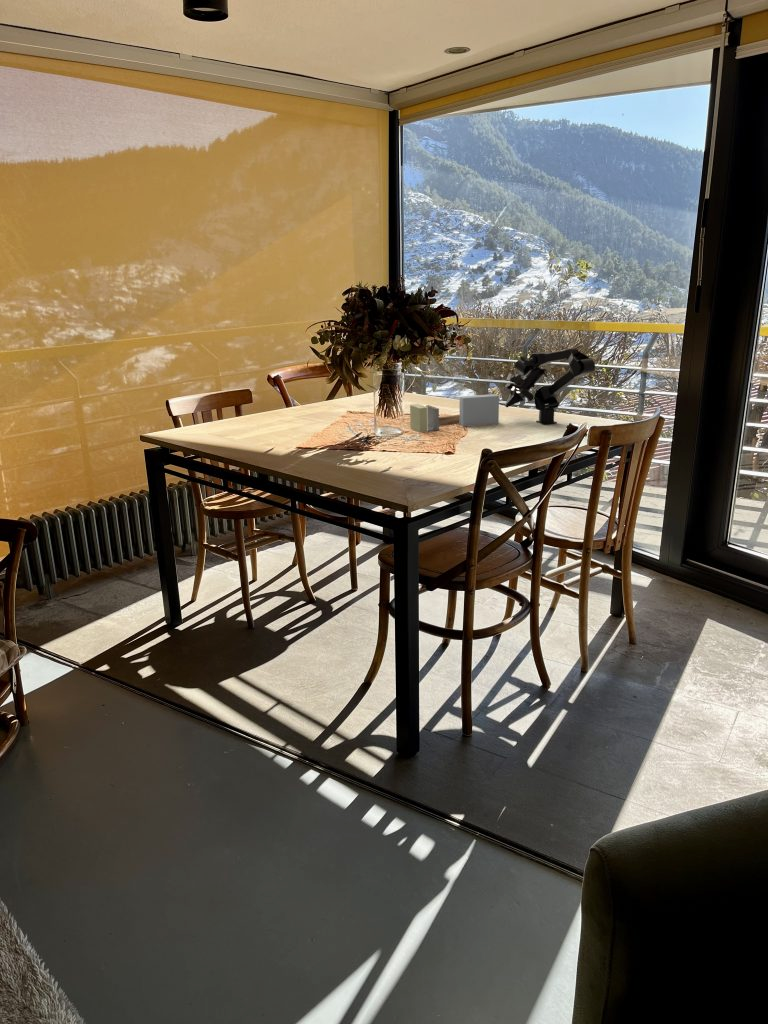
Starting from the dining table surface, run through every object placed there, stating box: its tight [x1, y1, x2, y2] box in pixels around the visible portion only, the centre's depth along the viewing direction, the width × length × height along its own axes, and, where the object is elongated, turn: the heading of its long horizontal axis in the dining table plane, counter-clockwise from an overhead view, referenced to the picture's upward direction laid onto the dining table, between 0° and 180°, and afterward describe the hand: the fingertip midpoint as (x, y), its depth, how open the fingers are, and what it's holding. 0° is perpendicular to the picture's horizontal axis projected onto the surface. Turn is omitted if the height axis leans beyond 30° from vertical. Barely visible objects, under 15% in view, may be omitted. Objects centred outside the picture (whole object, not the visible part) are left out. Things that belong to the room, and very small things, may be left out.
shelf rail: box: [439, 414, 460, 426], centre depth 335 cm, size 2×30×3 cm, turn 114°
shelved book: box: [409, 403, 429, 433], centre depth 321 cm, size 9×4×10 cm, turn 23°
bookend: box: [425, 404, 440, 432], centre depth 322 cm, size 9×6×9 cm
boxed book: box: [458, 393, 500, 427], centre depth 329 cm, size 16×5×12 cm, turn 103°
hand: (505, 406), depth 331 cm, fingers closed
